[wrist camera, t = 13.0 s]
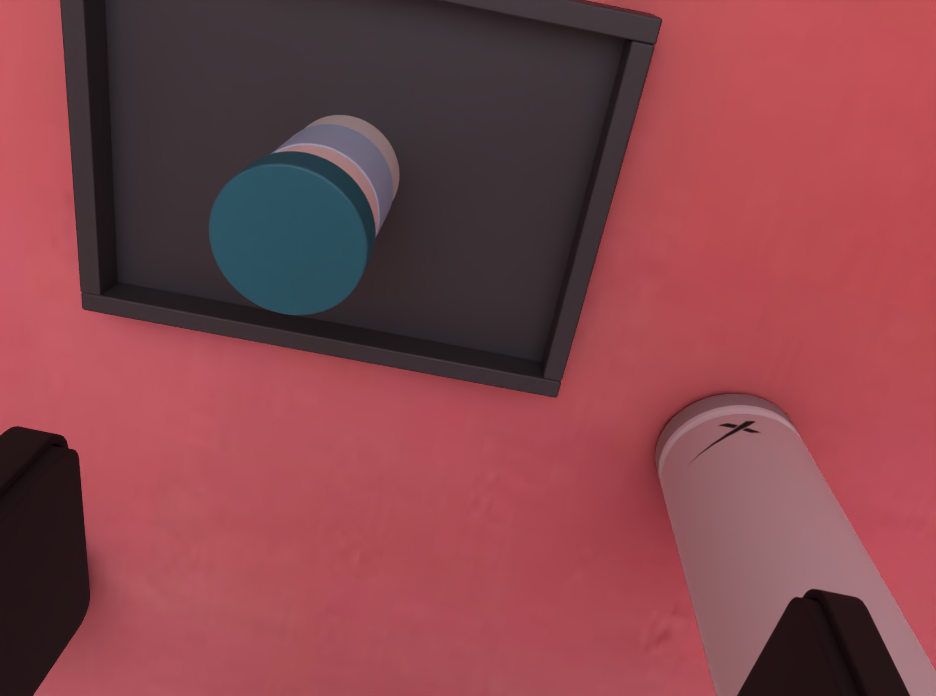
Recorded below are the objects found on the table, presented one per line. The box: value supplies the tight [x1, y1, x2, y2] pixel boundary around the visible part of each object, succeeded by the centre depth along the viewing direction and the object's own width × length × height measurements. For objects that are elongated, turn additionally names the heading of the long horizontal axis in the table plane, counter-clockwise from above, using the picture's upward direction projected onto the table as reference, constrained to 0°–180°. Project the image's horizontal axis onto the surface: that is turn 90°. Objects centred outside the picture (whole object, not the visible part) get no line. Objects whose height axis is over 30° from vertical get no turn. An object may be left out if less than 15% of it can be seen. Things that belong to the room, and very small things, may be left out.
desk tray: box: [60, 0, 662, 397], centre depth 28 cm, size 15×20×2 cm
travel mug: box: [655, 394, 936, 696], centre depth 25 cm, size 6×7×20 cm
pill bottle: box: [209, 115, 400, 315], centre depth 25 cm, size 5×5×8 cm
